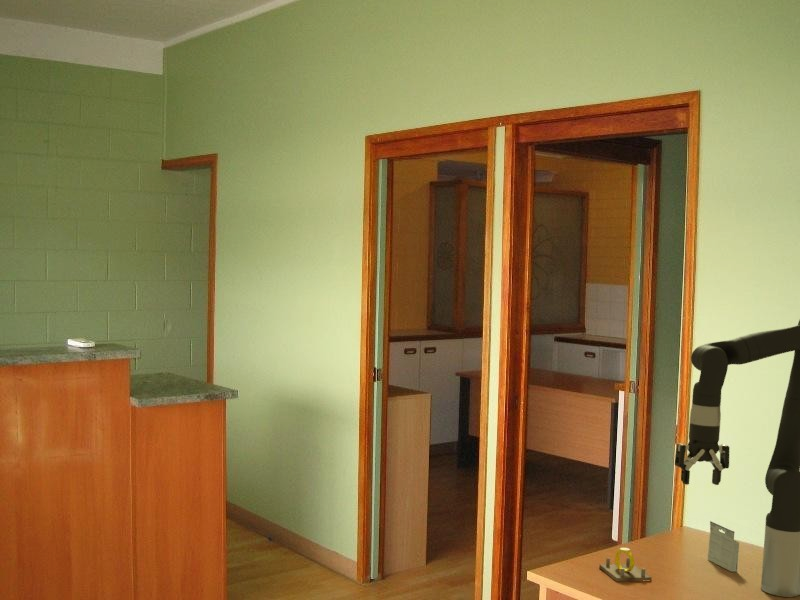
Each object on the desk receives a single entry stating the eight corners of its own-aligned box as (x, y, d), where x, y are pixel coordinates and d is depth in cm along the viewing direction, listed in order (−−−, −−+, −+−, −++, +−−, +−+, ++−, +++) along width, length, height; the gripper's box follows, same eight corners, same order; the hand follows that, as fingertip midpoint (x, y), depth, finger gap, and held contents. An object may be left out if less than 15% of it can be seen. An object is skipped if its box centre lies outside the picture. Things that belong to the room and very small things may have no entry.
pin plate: (632, 567, 260) (633, 556, 259) (651, 581, 249) (652, 570, 249) (599, 568, 257) (600, 557, 257) (616, 581, 247) (617, 570, 247)
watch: (635, 573, 251) (637, 551, 251) (628, 574, 250) (629, 552, 250) (619, 566, 256) (621, 545, 256) (612, 567, 255) (613, 546, 255)
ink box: (738, 572, 261) (741, 531, 260) (731, 572, 260) (734, 532, 260) (713, 559, 272) (716, 520, 271) (706, 559, 271) (709, 520, 271)
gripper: (687, 424, 236) (682, 487, 237) (737, 425, 239) (733, 487, 240) (672, 419, 244) (668, 480, 244) (721, 420, 247) (717, 480, 247)
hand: (700, 484), depth 242 cm, fingers open, 8 cm apart
